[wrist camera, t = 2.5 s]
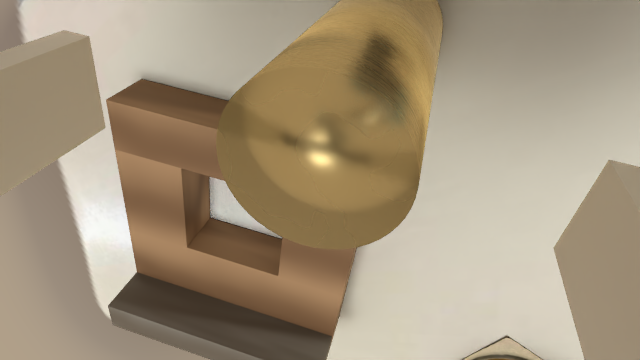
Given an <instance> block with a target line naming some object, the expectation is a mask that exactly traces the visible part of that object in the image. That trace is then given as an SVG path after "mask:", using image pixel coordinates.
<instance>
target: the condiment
mask: <svg viewBox="0 0 640 360" xmlns="http://www.w3.org/2000/svg"><path fill="white" fill-rule="evenodd" d="M464 360H542V359H540V358H539V357H538V356H536V355H534V354H533V353H532V352H530V351H529V350H527V349H525V348H524V347H522V346H521V345H520V344H518V343H517V342H515V341H513V340H512V339H509V338H504V339H502V340H501V341H499V342H497V343H495V344H492V345H490V346H489V347H487V348H484V349H482V350H480V351H478V352H477V353H475V354H472V355H470V356H469V357H467V358H465V359H464Z"/></svg>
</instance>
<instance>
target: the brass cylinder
mask: <svg viewBox="0 0 640 360" xmlns="http://www.w3.org/2000/svg"><path fill="white" fill-rule="evenodd" d="M442 30H443V18H442V13H441V9H440V6H439V3H438V1H437V0H340V1H339V2H338V3H337V4H336V5H335V6H334V7H332V8H331V9H330V10H329V11H328V12H327V13H326V14H325V15H323V16H322V17H321V18H320V19H319V20H318V21H317V22H315V23H314V24H313V25H312V26H311V27H310V28H309V29H307V30H306V31H305V32H304V33H303V34H302V35H301V36H299V37H298V38H297V39H296V40H295V41H294V42H293V43H292V44H290V45H289V46H288V47H287V48H286V49H285V50H284V51H282V52H281V53H280V54H279V55H278V56H277V57H276V58H274V59H273V60H272V61H271V62H270V63H269V64H268V65H266V66H265V67H264V68H263V69H262V70H261V71H260V72H259V73H257V74H256V75H255V76H254V77H253V78H252V79H251V80H249V81H248V82H247V83H246V84H245V85H244V86H243V87H241V88H240V89H239V90H238V91H237V92H236V93H235V94H234V95H233V97H232V98H231V99H230V100H229V102H228V103H227V105H226V107H225V109H224V110H223V113H222V115H221V118H220V120H219V124H218V129H217V137H216V149H217V157H218V162H219V166H220V169H221V172H222V175H223V177H224V179H225V181H226V183H227V186H228V188H229V189H230V191H231V192H232V194H233V195H234V197H235V198H236V200H237V201H238V202H239V203H240V205H241V206H242V207H243V208H244V209H245V210H246V211H247V212H248V213H249V214H250V215H251V216H252V217H253V218H254V219H255V220H257V221H258V222H259V223H260V224H262V225H263V226H265V227H266V228H267V229H269V230H271V231H272V232H274V233H276V234H278V235H279V236H281V237H284V238H286V239H288V240H290V241H293V242H296V243H299V244H302V245H306V246H310V247H314V248H321V249H349V248H355V247H360V246H363V245H367V244H370V243H372V242H374V241H377V240H379V239H381V238H382V237H384V236H386V235H387V234H389V233H390V232H391V231H393V230H394V229H395V228H396V227H397V226H398V225H399V224H400V223H401V222H402V221H403V220H404V219H405V217H406V216H407V214H408V212H409V211H410V209H411V207H412V205H413V203H414V200H415V198H416V194H417V190H418V186H419V179H420V173H421V166H422V160H423V154H424V147H425V141H426V134H427V128H428V121H429V115H430V109H431V102H432V96H433V89H434V83H435V76H436V70H437V63H438V57H439V51H440V44H441V38H442Z"/></svg>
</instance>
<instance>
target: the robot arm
mask: <svg viewBox="0 0 640 360" xmlns="http://www.w3.org/2000/svg"><path fill="white" fill-rule="evenodd" d="M104 128H105V122H104V117H103V111H102V105H101V100H100V94H99V89H98V83H97V77H96V72H95V66H94V61H93V55H92V49H91V44H90V38H89V36H85V35H81V34H77V33H73V32H69V31H61V32H58V33H55V34H52V35H49V36H46V37H43V38H40V39H37V40H34V41H31V42H28V43H25V44H22V45H19V46H16V47H13V48H10V49H7V50H4V51H1V52H0V196H2V195H3V194H5V193H6V192H8V191H9V190H11V189H13V188H14V187H16V186H17V185H19V184H20V183H22V182H23V181H25V180H26V179H28V178H29V177H31V176H32V175H34V174H36V173H37V172H39V171H40V170H42V169H43V168H45V167H46V166H47V165H49V164H51V163H52V162H54V161H55V160H57V159H58V158H60V157H61V156H63V155H65V154H66V153H68V152H69V151H71V150H72V149H74V148H75V147H77V146H78V145H80V144H81V143H83V142H84V141H86V140H87V139H89V138H90V137H92V136H94V135H95V134H97V133H98V132H100V131H101V130H103V129H104ZM554 252H555V255H556V259H557V262H558V266H559V269H560V273H561V277H562V280H563V284H564V287H565V291H566V295H567V298H568V302H569V305H570V309H571V312H572V316H573V320H574V323H575V327H576V330H577V334H578V337H579V341H580V345H581V348H582V352H583V355H584V359H585V360H640V167H637V166H633V165H629V164H625V163H621V162H616V161H612V160H609V161H608V162H607V164H606V165H605V167H604V169H603V170H602V172H601V173H600V175H599V177H598V178H597V180H596V181H595V183H594V184H593V186H592V188H591V189H590V191H589V192H588V194H587V196H586V197H585V199H584V200H583V202H582V204H581V205H580V207H579V208H578V210H577V212H576V213H575V215H574V216H573V218H572V219H571V221H570V223H569V224H568V226H567V227H566V229H565V231H564V232H563V234H562V235H561V237H560V239H559V240H558V242H557V243H556V245H555V246H554Z"/></svg>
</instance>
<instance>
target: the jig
mask: <svg viewBox="0 0 640 360" xmlns="http://www.w3.org/2000/svg"><path fill="white" fill-rule="evenodd" d="M106 102H107V108H108V113H109V119H110V124H111V130H112V135H113V141H114V147H115V152H116V158H117V163H118V169H119V174H120V180H121V185H122V191H123V197H124V202H125V208H126V213H127V219H128V224H129V230H130V235H131V241H132V246H133V252H134V258H135V263H136V269H137V273H136V274H135V275H134V276H133V277H132V279H131V280H130V281H129V282H128V283H127V284H126V286H125V287H124V288H123V289H122V290H121V291H120V293H119V294H118V295H117V296H116V297H115V298H114V300H113V301H112V302H111V303H110V304H109V305H108V308H109V312H110V316H111V320H112V324H113V325H114V326H117V327H120V328H123V329H126V330H128V331H131V332H134V333H137V334H140V335H143V336H145V337H148V338H151V339H154V340H157V341H160V342H162V343H165V344H168V345H171V346H174V347H177V348H179V349H182V350H186V351H188V352H191V353H194V354H196V355H200V356H202V357H205V358H208V359H211V360H326V359H327V356H328V352H329V349H330V346H331V342H332V339H333V335H334V332H335V329H336V325H337V322H338V318H339V315H340V311H341V307H342V303H343V299H344V295H345V291H346V287H347V283H348V279H349V276H350V272H351V268H352V264H353V260H354V256H355V252H356V248H357V247H355V248H349V249H321V248H314V247H310V246H306V245H302V244H299V243H296V242H293V241H290V240H288V239H286V238H284V237H282V239H279V238H275V237H272V236H269V235H265V234H262V233H259V232H255V231H252V230H249V229H245V228H242V227H239V226H235V225H232V224H229V223H225V222H222V221H219V220H215V219H212V218H210V198H209V176H210V177H213V178H217V179H220V180H224V181H225V179H224V177H223V175H222V172H221V169H220V166H219V162H218V157H217V149H216V137H217V129H218V124H219V120H220V118H221V115H222V113H223V110H224V109H225V107H226V105H227V103H228V102H229V101H226V100H222V99H218V98H214V97H210V96H206V95H202V94H198V93H194V92H190V91H187V90H183V89H179V88H175V87H171V86H167V85H163V84H159V83H155V82H151V81H147V80H143V79H141V80H139V81H138V82H136V83H134V84H132V85H131V86H129V87H127V88H126V89H124V90H122V91H120V92H119V93H117V94H115V95H114V96H112V97H110V98H108V99H107V100H106Z"/></svg>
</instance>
